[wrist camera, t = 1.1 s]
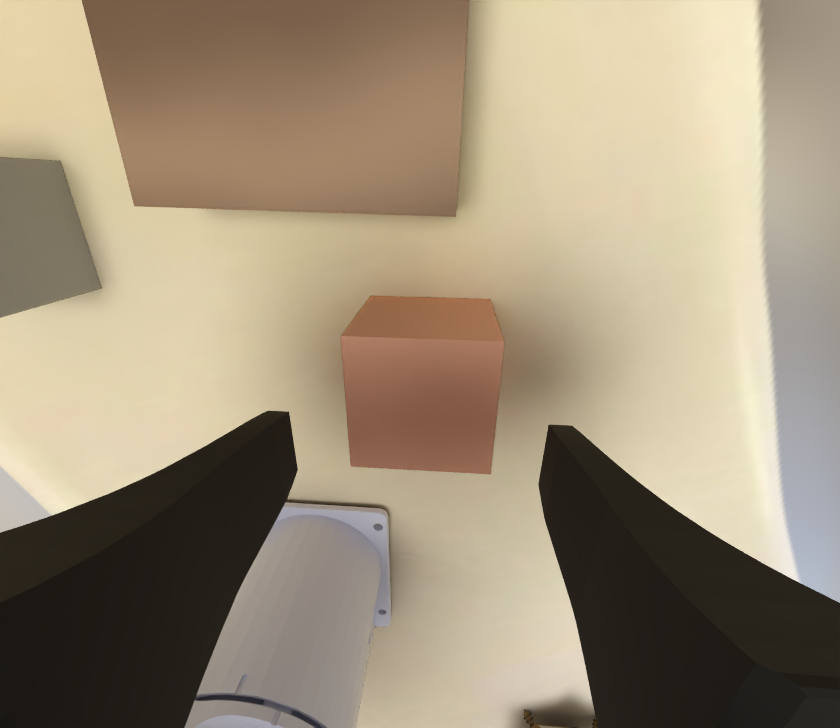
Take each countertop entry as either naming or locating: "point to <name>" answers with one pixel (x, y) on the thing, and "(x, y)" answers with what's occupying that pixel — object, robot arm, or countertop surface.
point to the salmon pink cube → (423, 383)
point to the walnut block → (286, 102)
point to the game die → (530, 721)
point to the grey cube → (40, 237)
